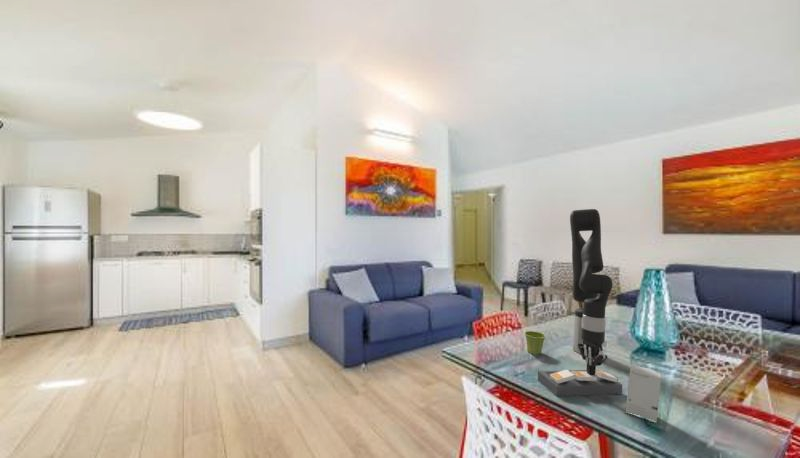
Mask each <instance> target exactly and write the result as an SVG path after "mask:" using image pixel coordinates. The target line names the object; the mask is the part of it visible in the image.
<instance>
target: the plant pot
mask: <svg viewBox="0 0 800 458" xmlns="http://www.w3.org/2000/svg"><path fill="white" fill-rule="evenodd" d="M524 335H525V338H526V339H525V340H526V351H527V352H528V353H531V354H533V355H539V354H542V350H543V346H544V341H545V339H546V337H547V335H546V334H545V333H543V332H539V331H534V330H527V331H525V332H524Z"/></svg>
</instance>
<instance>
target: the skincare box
mask: <svg viewBox="0 0 800 458" xmlns="http://www.w3.org/2000/svg"><path fill="white" fill-rule="evenodd" d="M661 385H662V372H659V371H656V370H652V369H650V368H646V367H642V366H638V365H635V364H630V368H629V376H628V386H627V395H626V406H625V407H626V408H625V413H632V414H636V415H640V416H643V417H645V418H648V419H651V420H654V421H656V423H657V422H658V421H657V420H658V413H659V403H660V395H661V394H660V392H661Z"/></svg>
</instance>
